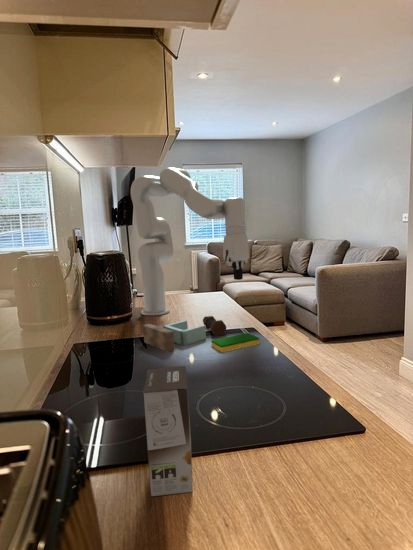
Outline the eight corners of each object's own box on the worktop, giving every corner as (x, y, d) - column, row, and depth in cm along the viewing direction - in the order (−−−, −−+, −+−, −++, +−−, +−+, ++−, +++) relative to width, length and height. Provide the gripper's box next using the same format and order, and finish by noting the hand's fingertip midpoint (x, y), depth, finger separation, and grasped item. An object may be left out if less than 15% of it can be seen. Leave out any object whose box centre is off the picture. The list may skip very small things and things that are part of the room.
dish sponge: (211, 347, 120) (210, 339, 120) (248, 339, 126) (247, 332, 126) (221, 353, 114) (221, 345, 114) (260, 345, 120) (259, 337, 119)
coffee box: (194, 492, 55) (187, 388, 53) (150, 497, 55) (142, 392, 52) (191, 454, 64) (185, 364, 62) (153, 458, 64) (146, 368, 61)
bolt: (208, 329, 146) (221, 338, 131) (197, 324, 144) (209, 333, 130) (215, 315, 146) (228, 323, 131) (204, 310, 144) (216, 318, 130)
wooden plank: (144, 342, 127) (142, 325, 126) (150, 340, 129) (149, 323, 128) (168, 351, 116) (166, 333, 116) (174, 349, 118) (173, 331, 117)
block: (163, 338, 130) (162, 325, 130) (185, 332, 137) (184, 320, 136) (183, 345, 122) (182, 332, 121) (205, 338, 128) (205, 325, 127)
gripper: (242, 230, 149) (244, 276, 151) (214, 232, 139) (217, 281, 142) (256, 229, 143) (258, 277, 146) (228, 232, 134) (231, 282, 136)
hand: (238, 279), depth 144 cm, fingers closed
